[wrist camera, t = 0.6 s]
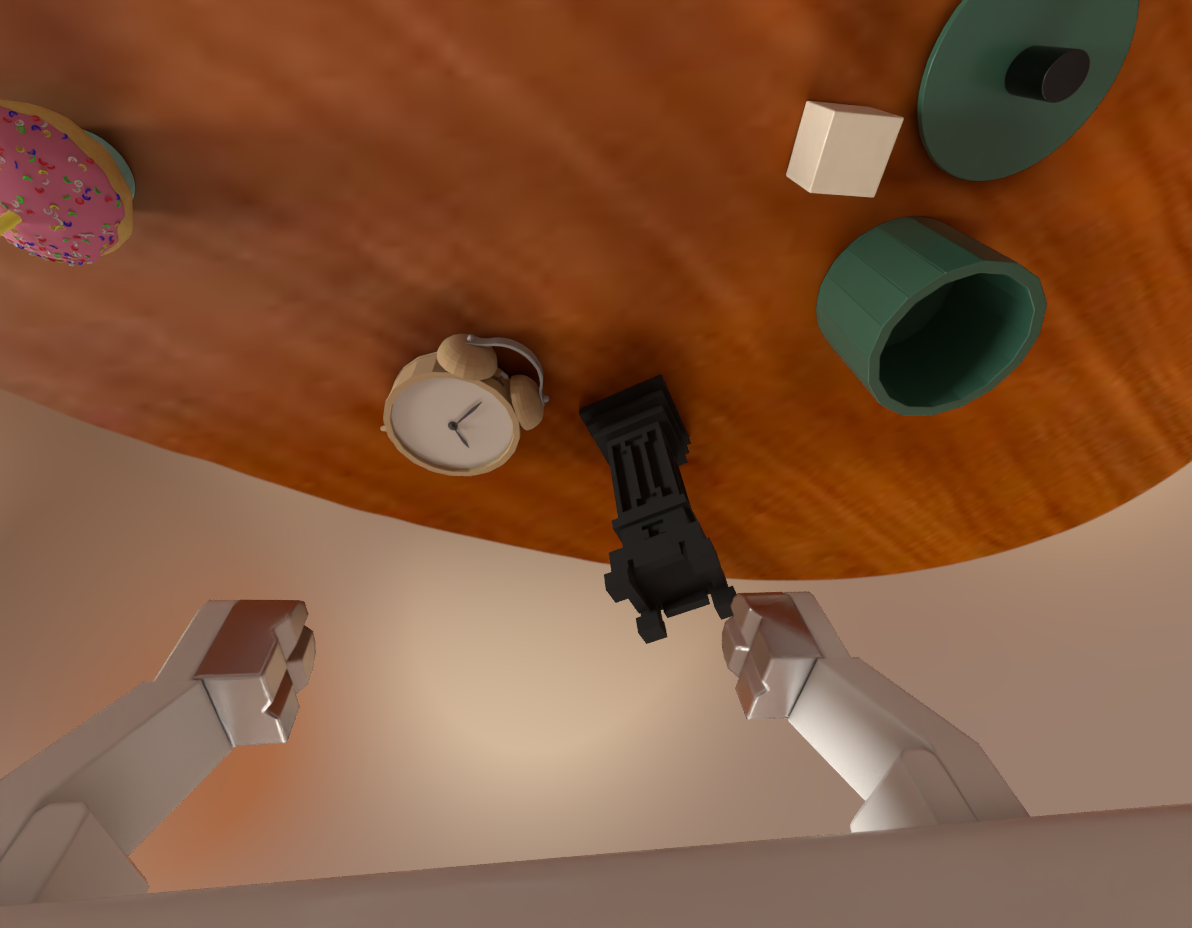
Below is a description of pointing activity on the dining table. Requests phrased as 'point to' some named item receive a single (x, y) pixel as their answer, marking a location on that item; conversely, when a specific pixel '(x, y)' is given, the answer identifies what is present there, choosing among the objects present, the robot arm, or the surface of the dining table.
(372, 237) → the dining table surface
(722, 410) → the dining table surface
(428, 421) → the alarm clock
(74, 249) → the cupcake
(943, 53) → the lid
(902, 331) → the green hollow cylinder
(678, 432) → the chess piece
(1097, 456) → the dining table surface
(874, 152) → the block
